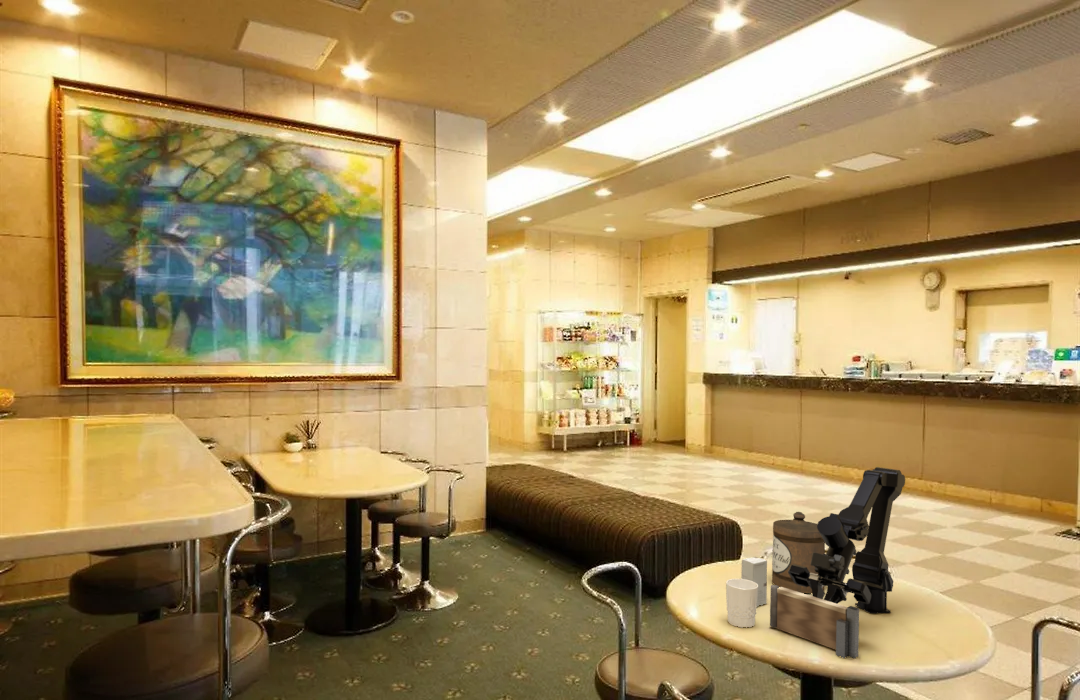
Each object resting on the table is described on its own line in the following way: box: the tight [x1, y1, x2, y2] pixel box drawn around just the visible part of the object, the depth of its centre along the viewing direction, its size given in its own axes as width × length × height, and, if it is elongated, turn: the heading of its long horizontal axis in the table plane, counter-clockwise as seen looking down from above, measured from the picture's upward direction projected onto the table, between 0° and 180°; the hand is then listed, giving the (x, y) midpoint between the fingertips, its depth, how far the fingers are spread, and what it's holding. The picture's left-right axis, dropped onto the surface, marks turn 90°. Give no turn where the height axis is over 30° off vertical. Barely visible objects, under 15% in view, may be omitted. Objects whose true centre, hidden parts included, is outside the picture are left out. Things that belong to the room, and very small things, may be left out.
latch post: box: [835, 605, 860, 659], centre depth 151 cm, size 4×4×11 cm
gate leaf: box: [769, 584, 848, 650], centre depth 160 cm, size 19×2×10 cm, turn 40°
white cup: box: [725, 578, 758, 629], centre depth 169 cm, size 8×8×10 cm
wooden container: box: [771, 511, 826, 593], centre depth 198 cm, size 15×15×22 cm
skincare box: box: [740, 556, 768, 607], centre depth 183 cm, size 6×4×12 cm
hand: (816, 613), depth 159 cm, fingers closed on gate leaf
